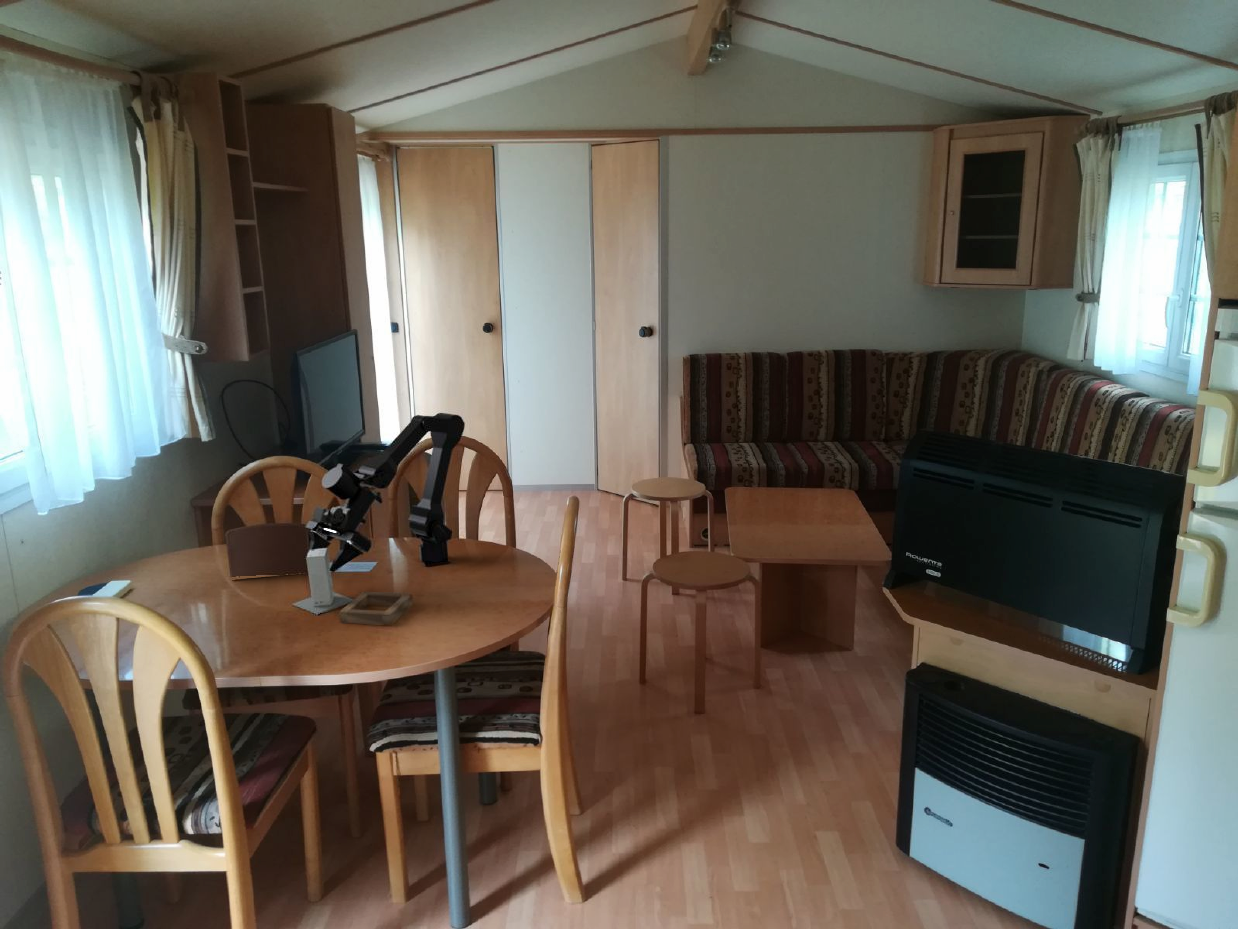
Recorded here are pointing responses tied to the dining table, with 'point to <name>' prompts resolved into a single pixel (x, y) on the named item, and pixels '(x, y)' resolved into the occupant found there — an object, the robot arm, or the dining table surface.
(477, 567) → the dining table surface
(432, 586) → the dining table surface
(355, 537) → the robot arm
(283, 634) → the dining table surface
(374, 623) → the walnut collar
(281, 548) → the letter holder
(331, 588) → the skincare box
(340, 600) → the grey mat
